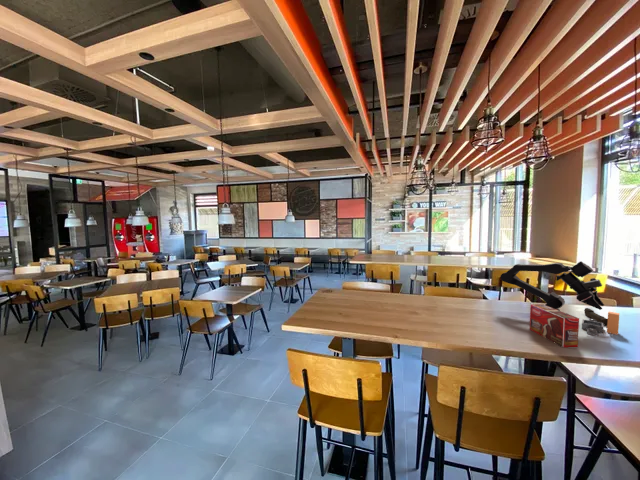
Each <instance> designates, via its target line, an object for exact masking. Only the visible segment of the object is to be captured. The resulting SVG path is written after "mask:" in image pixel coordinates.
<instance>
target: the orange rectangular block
mask: <svg viewBox="0 0 640 480" xmlns="http://www.w3.org/2000/svg"><path fill="white" fill-rule="evenodd" d="M607 319H608V323H607V326H606V327H607V328H606V333H608V334H613V335H616V336H618V335H619V328H620V325H619V324H620V312H614V311H608V313H607Z"/></svg>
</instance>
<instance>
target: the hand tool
mask: <svg viewBox="0 0 640 480" xmlns="http://www.w3.org/2000/svg"><path fill="white" fill-rule="evenodd" d="M584 315H585V316H586V317H587V318H590V317H591V318H590V319H595V320H596V322H600V323H603V326H606V327H607V323H608V318H606V317H605V316H604V315H603V316H602V315H600V314H598V313H596V312H595V311H594V310H593V309H591V308H589V307H585V308H584Z"/></svg>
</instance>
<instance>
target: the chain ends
mask: <svg viewBox="0 0 640 480" xmlns="http://www.w3.org/2000/svg"><path fill="white" fill-rule="evenodd" d="M581 321H582V322H581V329H583V330H586V334H587V335H591V336H592V335H593V336H596V337H598V333H602V334H604V325H603V323H600V322H598V321H596V320H595V319H593V318H588V319H585V318H584V319H583V318H582V320H581Z"/></svg>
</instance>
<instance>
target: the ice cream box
mask: <svg viewBox="0 0 640 480" xmlns="http://www.w3.org/2000/svg"><path fill="white" fill-rule="evenodd" d="M529 310H530V312H529V330H530V331H532V332H533V333H535V334H537V335H539V336H541V337H543V338H545V339H547V340H548V341H550V342H552V343H554V342H555V343H556V344H555V343H554V344H555V345H557V344H558V346H559V345H560V346H559V347H561V346H562V347H561V348H568V347H578V348H579V345H578V344H579V332H580V331H579V329H580V328H579V327H580V317H576V316H575V315H571V314H569V313H566V312H564V311H561V310H560V309H559V310H560V311H559V310H556V309H554V308H551V307H549V306H546V305H545V304H542V303H541V304H539V303H538V304H534V303H533V304H530V309H529Z"/></svg>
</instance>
